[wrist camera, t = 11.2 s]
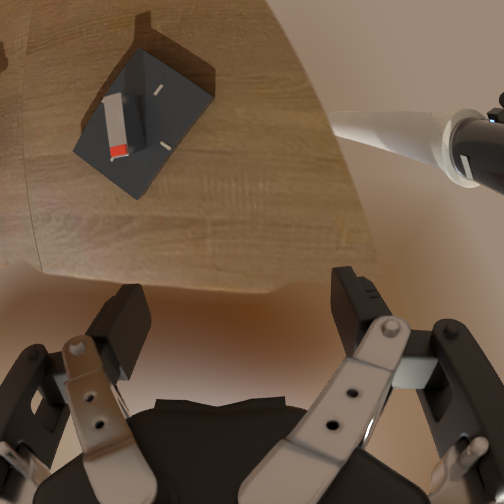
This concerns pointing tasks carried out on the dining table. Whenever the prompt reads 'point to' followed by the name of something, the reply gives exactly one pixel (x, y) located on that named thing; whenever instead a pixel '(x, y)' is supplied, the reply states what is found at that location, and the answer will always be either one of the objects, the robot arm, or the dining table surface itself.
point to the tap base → (145, 122)
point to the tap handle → (124, 124)
